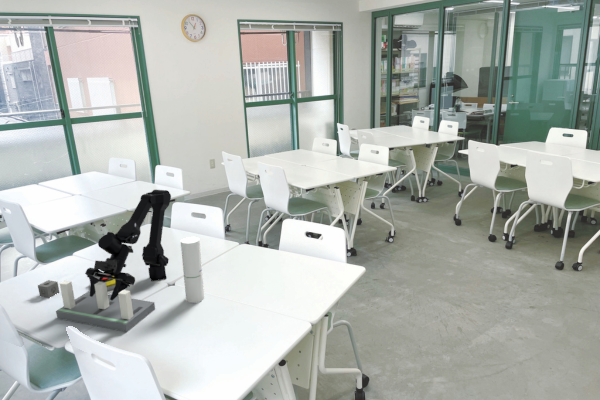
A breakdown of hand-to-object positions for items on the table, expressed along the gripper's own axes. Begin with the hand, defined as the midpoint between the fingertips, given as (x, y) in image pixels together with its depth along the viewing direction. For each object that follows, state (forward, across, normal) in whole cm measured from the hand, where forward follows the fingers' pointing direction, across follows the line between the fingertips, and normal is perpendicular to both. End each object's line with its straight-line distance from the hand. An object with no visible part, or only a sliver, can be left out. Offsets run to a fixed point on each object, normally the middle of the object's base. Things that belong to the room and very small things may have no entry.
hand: (100, 298), depth 160 cm
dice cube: (0, -34, +11) cm, 35 cm away
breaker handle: (+2, 0, +3) cm, 4 cm away
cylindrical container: (-10, +26, +20) cm, 35 cm away
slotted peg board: (+4, 0, +6) cm, 7 cm away
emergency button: (-9, -16, +20) cm, 27 cm away
